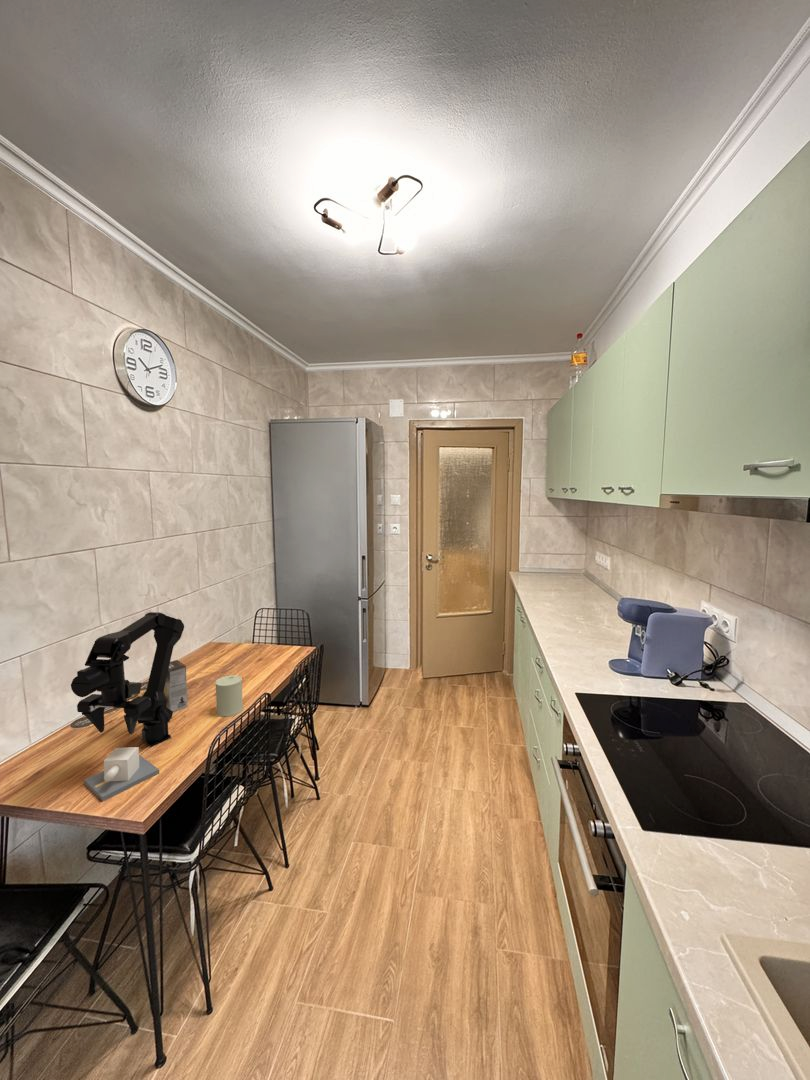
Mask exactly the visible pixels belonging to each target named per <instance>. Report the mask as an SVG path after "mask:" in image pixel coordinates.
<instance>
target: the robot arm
mask: <svg viewBox="0 0 810 1080" xmlns="http://www.w3.org/2000/svg"><path fill="white" fill-rule="evenodd" d="M184 624H185V623H184V622H183V621H182V620H181V619H180V618H175V617H172V616H169V615H166V614H165V613H162V612H153V611H150V612H147V613H146V614H145V615H144V616H141V618H139V619H137V620H135V621H134V622H132V623H131V624H129V625H128V626H126V627H124V628H123V629H121V630H118V631H116V632H111V633H107V634H104V635H101V636H99V637H98V638H97V639H96V640H95V641H94V643H93V645H92V647H91V650H90V651H89V653H88V654H89V655H88V657H87V658H86V660H85V663H84V666H85V667H86V668H83V669H79V670H77V672H76V673H77V674H76V676H75V677H74V678H73V679H72V681H71V683H70V688H71V691H72V692H73V694H75V695H76V696H77V697H79V698H82V699H81V700H79V702H78V703H77V704H76V711H77V713H81V715H82V716H84V717H85V718H87V720H88V721H90V723H91V724H92V725H93V726H94V727H95V729H97V731H98V732H99V733H103V732H104V731H105V710H106V708H109V709H110V708H111V709H112V708H114V709H115V708H116V709H123V713H124V715H123V719H124V722H125V725H126V728H127V732H128V734H129V735H133V734H134V732H135V729H136V726H137V723H138V724H142V728H141V741H142V742H143V743H145V744H146V745H148V746H149V747H152V746H155V745H158V744H160V743H163V742H164V741H167V740H169V739H171V738H172V735H170V734H169V723H170V722H171V719H172V718H173V714H174V713H173V711H172V710H170V709H168V708H167V707H166V704H167V699H166V697H165V694H164V687H165V682H166V678H167V674H168V669H169V665H170V662H171V659H172V656H173V655H172V654H173V649H174V646H176V644H177V643H178V642H179V641H180V639H181V638H182V635H183V632H184V629H185V625H184ZM150 631H154V632H153V638H154V640H155V643H156V647H155V652H154V657H153V661H152V666H151V668H150V674H149V677H148V680H147V684H146V685H147V686H146V690H145V692H144V693H143V694H142V695H140V694H141V688H142V682H136V681H135V682H134V681H133V682H132V681H130V680H129V679H126V678H125V677H126V676H125V666H124V665H125V664H124V662H125V661H127V660H129V659H130V656H128V655H126V653H128V652H129V650H130V649H131V646H132V644H133V643H134V642H136V641H137V640H139V639H140V638H142V637H144V636H145V635H146V634H147V633H149V632H150ZM99 658H100V659H99ZM101 658H102V659H101ZM103 658H104V659H103ZM95 692H98V693H99V692H100V693H99V694H98V693H97V694H96V693H95ZM135 694H137V695H138V696H136V697H134V698H133V699H131V700H127V699H130V698H132V695H135Z"/></svg>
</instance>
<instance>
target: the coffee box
mask: <svg viewBox="0 0 810 1080" xmlns="http://www.w3.org/2000/svg"><path fill="white" fill-rule="evenodd" d="M187 679H188V678H187V666H186V665H185V664H184V663H182V662H181V661H180V660H178V659H176V660H173V661H171V660H170V665H169V669H168V674H167V678H166V682H165V687H164V694H165V697H166V699H167V704H166V707H167V708H168V709H170V710H172V711H173V712H177V711H180V710H182V708H183V709H185V707H186V708H188V681H187Z"/></svg>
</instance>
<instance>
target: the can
mask: <svg viewBox="0 0 810 1080" xmlns="http://www.w3.org/2000/svg"><path fill="white" fill-rule="evenodd" d="M214 684H215V701H216V711H215V712H216V714H217V716H220V717H232V716H235V715H238V714H240V713H241V712H242V711H243V710H244V705H243V704H244V703H243V678H242V676H240V675H235V674H233V675H226V676H222V677H220V678H218V679H216V680H215V683H214Z"/></svg>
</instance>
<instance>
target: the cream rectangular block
mask: <svg viewBox="0 0 810 1080" xmlns="http://www.w3.org/2000/svg"><path fill="white" fill-rule="evenodd" d="M139 755H140V748H139V746H137V747H135V746H134V747H115V748H114V749H113V750H112V752H110V754H109V755H108V756H107V757H106V758H105V759H104V760H103V771H104V780H105V782H109V781H128V780H129V779H130V778H131V777H132V775H133V774H134V773H135V772H136V771H137V769H138V768H139Z"/></svg>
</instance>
